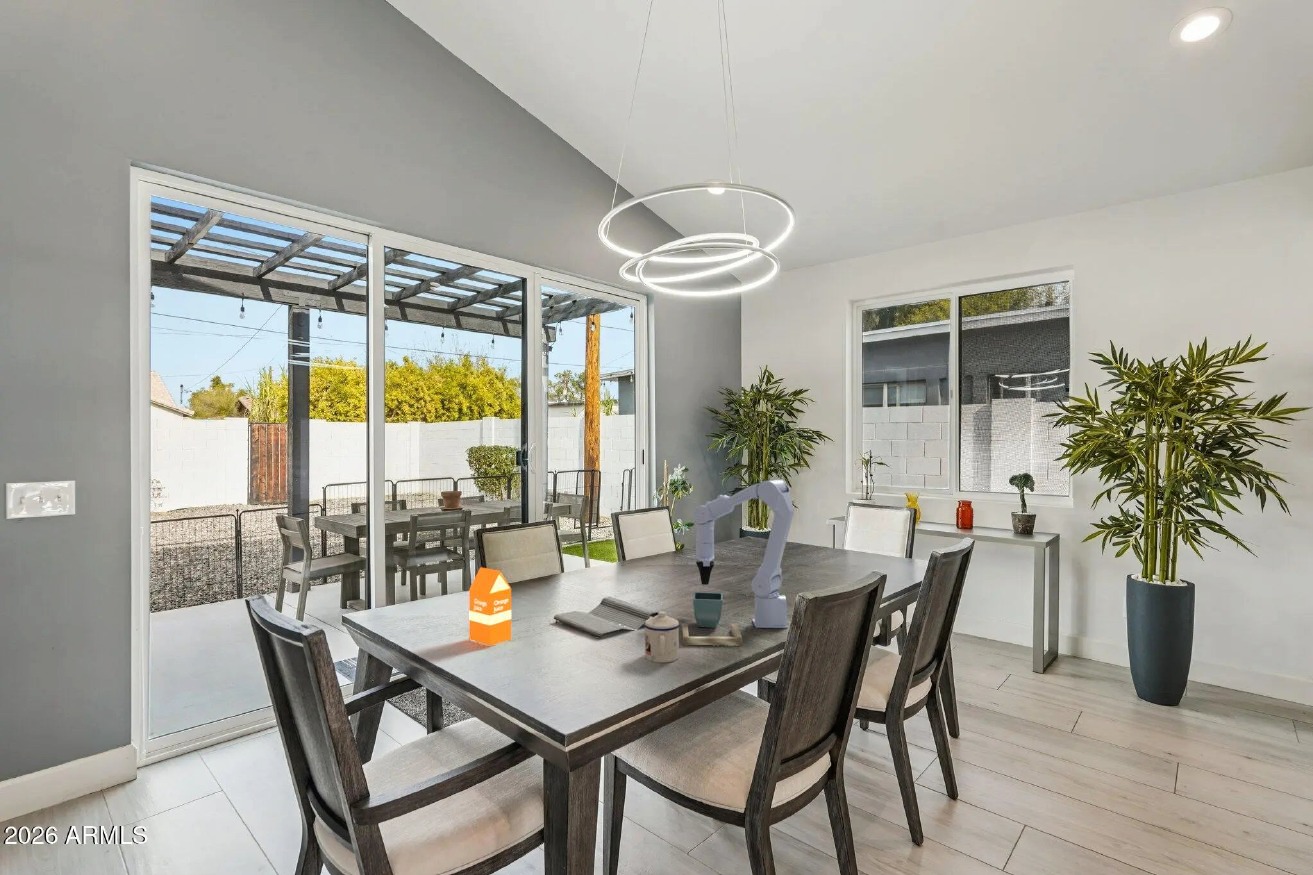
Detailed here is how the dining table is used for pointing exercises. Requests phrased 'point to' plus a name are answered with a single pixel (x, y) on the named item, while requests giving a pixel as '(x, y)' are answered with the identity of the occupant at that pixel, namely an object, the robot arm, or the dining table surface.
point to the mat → (608, 617)
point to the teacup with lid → (661, 638)
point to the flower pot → (707, 608)
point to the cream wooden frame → (713, 638)
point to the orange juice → (489, 608)
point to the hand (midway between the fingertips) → (704, 584)
